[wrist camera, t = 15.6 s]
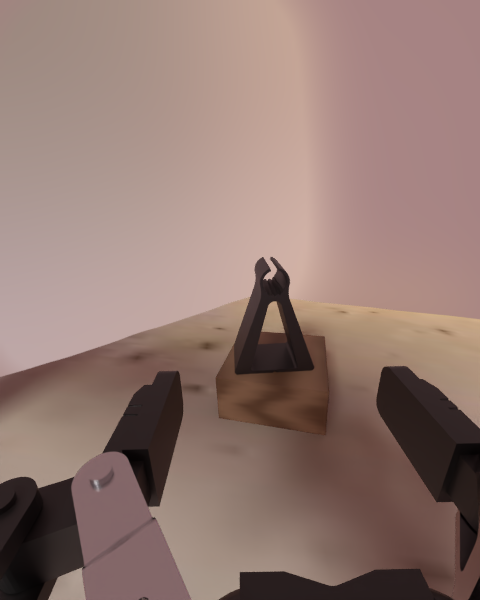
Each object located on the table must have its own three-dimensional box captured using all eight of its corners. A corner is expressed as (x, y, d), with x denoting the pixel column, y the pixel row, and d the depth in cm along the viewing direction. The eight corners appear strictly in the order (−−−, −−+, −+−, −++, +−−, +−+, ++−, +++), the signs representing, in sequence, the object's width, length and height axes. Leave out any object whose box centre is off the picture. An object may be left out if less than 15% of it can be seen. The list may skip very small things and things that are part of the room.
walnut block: (219, 420, 32) (215, 377, 30) (243, 364, 43) (241, 330, 41) (325, 437, 29) (329, 392, 27) (321, 372, 40) (324, 336, 38)
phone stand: (301, 344, 36) (304, 255, 32) (314, 370, 30) (320, 266, 26) (234, 347, 36) (229, 258, 32) (234, 374, 30) (228, 270, 26)
